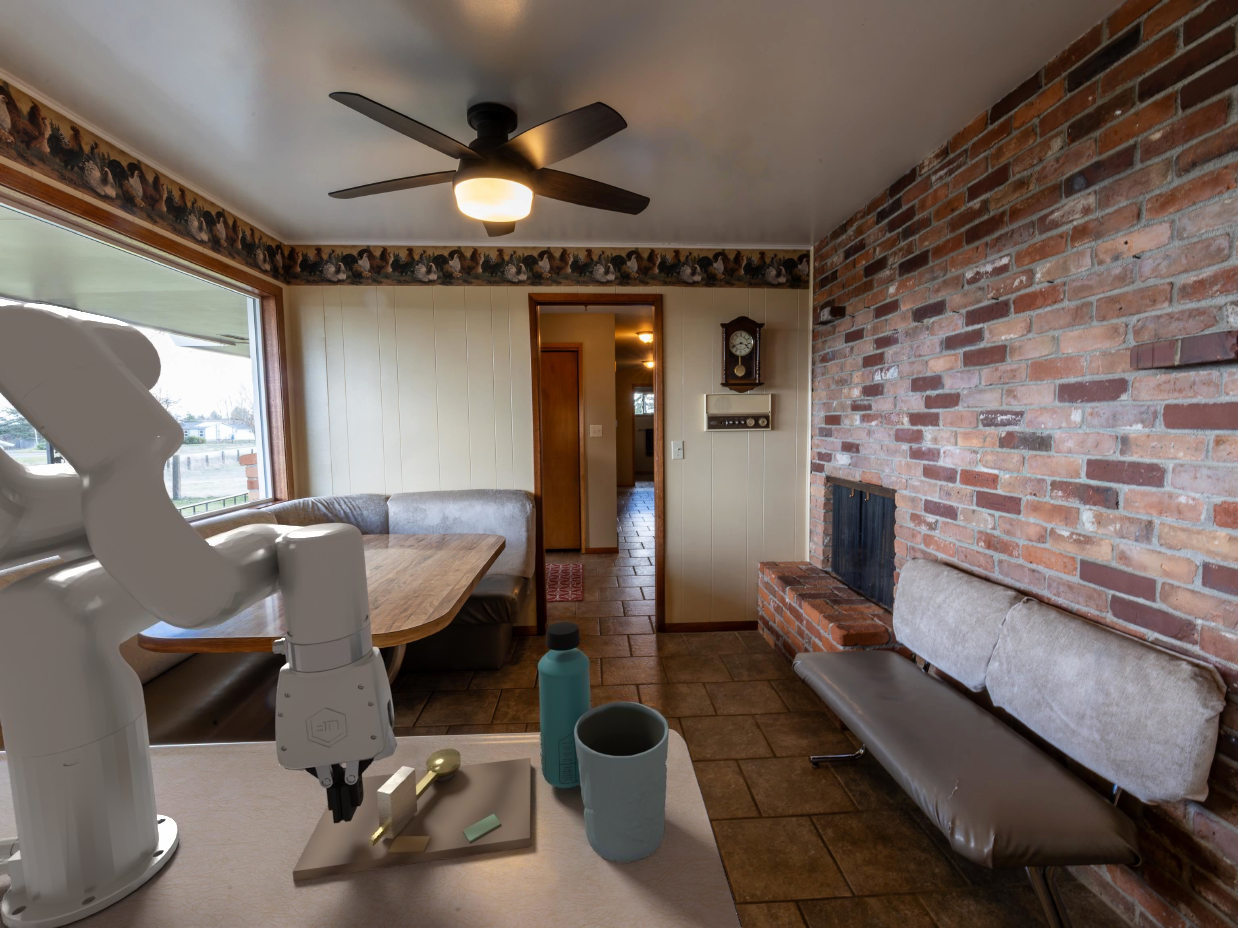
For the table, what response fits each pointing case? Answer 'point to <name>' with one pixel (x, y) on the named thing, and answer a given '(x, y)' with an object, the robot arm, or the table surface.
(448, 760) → the gold and silver piece
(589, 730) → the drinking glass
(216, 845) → the table surface
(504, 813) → the cutting board
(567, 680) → the beverage bottle
